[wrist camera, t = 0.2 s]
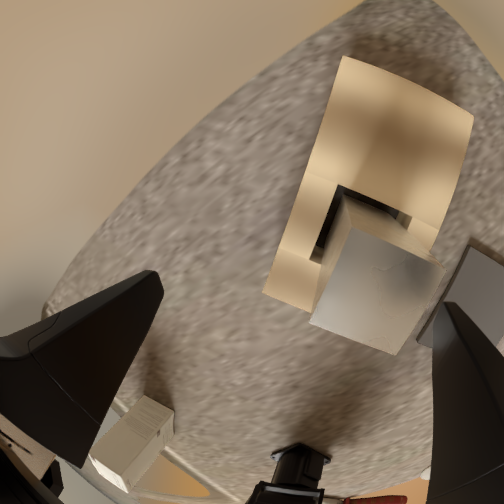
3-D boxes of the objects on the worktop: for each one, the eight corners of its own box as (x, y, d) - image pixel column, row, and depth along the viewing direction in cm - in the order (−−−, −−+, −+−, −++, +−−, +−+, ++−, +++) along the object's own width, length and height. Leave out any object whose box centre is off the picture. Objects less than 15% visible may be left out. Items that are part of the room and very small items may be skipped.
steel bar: (369, 258, 21) (395, 355, 10) (325, 239, 22) (308, 322, 10) (388, 213, 20) (446, 270, 8) (343, 194, 21) (351, 226, 9)
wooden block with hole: (376, 315, 23) (381, 340, 19) (273, 273, 24) (261, 292, 21) (454, 123, 16) (474, 116, 12) (342, 73, 18) (342, 55, 14)
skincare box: (175, 434, 38) (131, 496, 25) (145, 419, 39) (98, 474, 26) (175, 408, 35) (121, 479, 22) (141, 391, 37) (84, 453, 23)
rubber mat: (480, 362, 20) (481, 366, 20) (416, 339, 22) (417, 342, 21) (528, 283, 17) (530, 285, 16) (467, 244, 18) (470, 246, 18)
